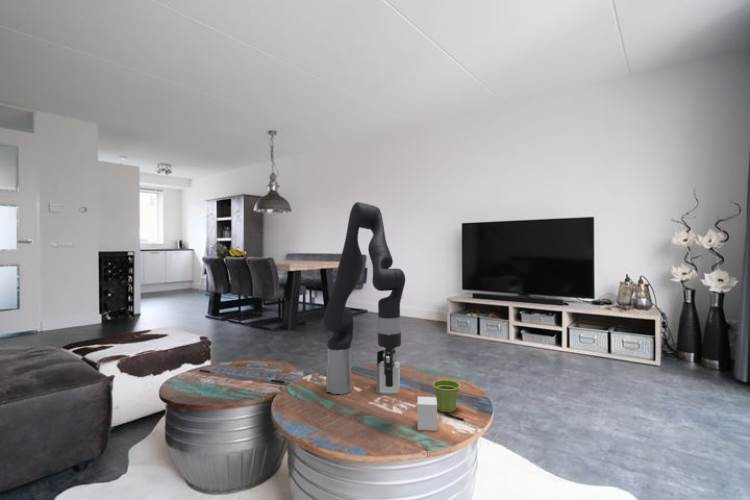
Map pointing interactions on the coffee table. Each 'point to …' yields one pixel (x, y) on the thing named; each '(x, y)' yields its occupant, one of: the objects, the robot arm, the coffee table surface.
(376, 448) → the coffee table surface
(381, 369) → the left white block
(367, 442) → the coffee table surface
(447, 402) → the plant pot
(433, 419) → the light grey rectangular block
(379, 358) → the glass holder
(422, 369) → the coffee table surface
